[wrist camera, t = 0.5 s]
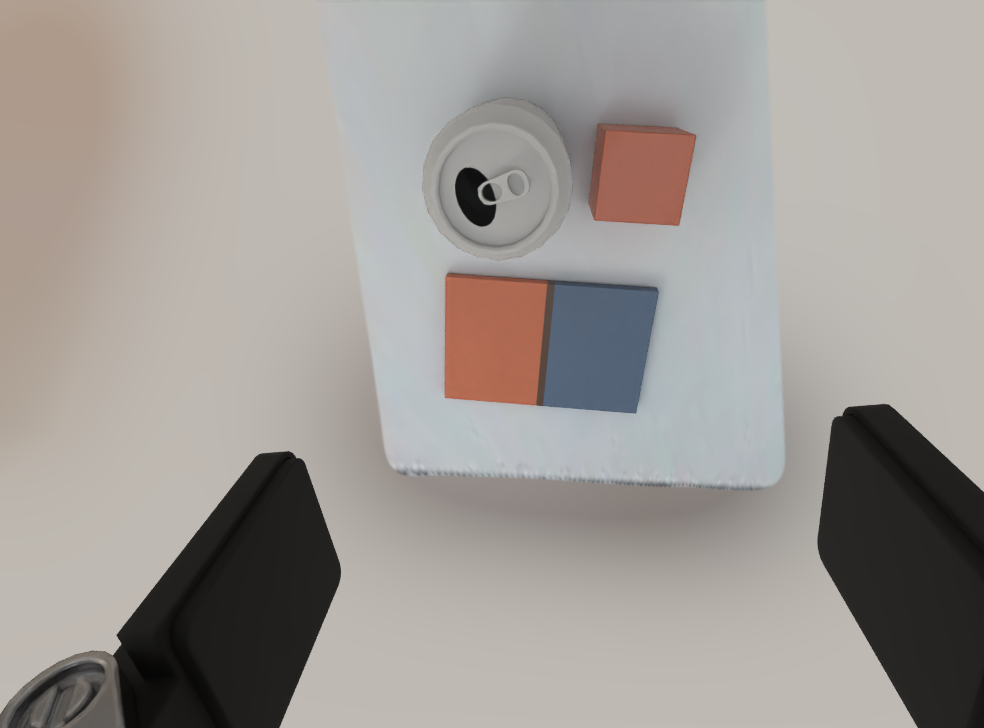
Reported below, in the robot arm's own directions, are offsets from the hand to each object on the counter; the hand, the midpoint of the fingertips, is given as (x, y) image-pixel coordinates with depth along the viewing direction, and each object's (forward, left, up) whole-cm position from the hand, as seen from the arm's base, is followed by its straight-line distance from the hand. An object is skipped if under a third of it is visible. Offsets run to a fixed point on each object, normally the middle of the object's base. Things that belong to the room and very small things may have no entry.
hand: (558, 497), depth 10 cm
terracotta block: (-2, +5, -31) cm, 32 cm away
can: (-2, -3, -31) cm, 32 cm away
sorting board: (+11, +1, -31) cm, 33 cm away
